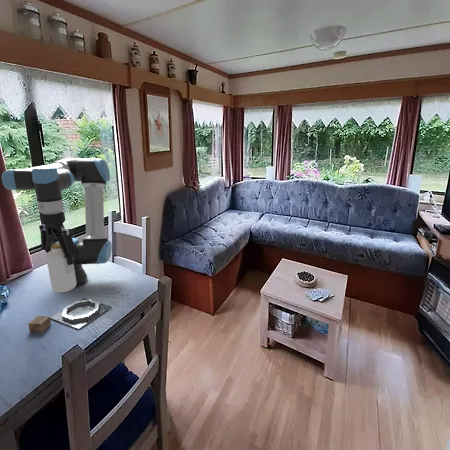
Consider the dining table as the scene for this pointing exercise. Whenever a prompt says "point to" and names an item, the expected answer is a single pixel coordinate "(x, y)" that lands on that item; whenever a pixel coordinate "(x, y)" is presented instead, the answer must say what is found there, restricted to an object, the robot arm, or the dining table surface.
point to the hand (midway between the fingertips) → (61, 269)
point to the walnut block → (39, 324)
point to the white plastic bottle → (59, 270)
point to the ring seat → (80, 313)
